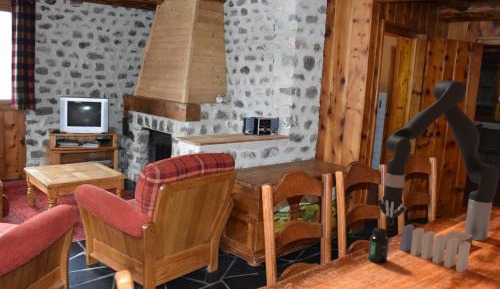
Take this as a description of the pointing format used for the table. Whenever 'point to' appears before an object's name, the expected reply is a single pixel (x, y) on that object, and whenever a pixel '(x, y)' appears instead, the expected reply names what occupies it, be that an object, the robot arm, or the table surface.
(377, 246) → the supplement bottle
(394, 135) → the robot arm
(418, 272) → the table surface
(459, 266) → the tile
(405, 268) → the table surface
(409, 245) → the tile
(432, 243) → the tile
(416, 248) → the tile
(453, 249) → the tile
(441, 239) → the tile
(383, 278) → the table surface
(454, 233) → the brick
